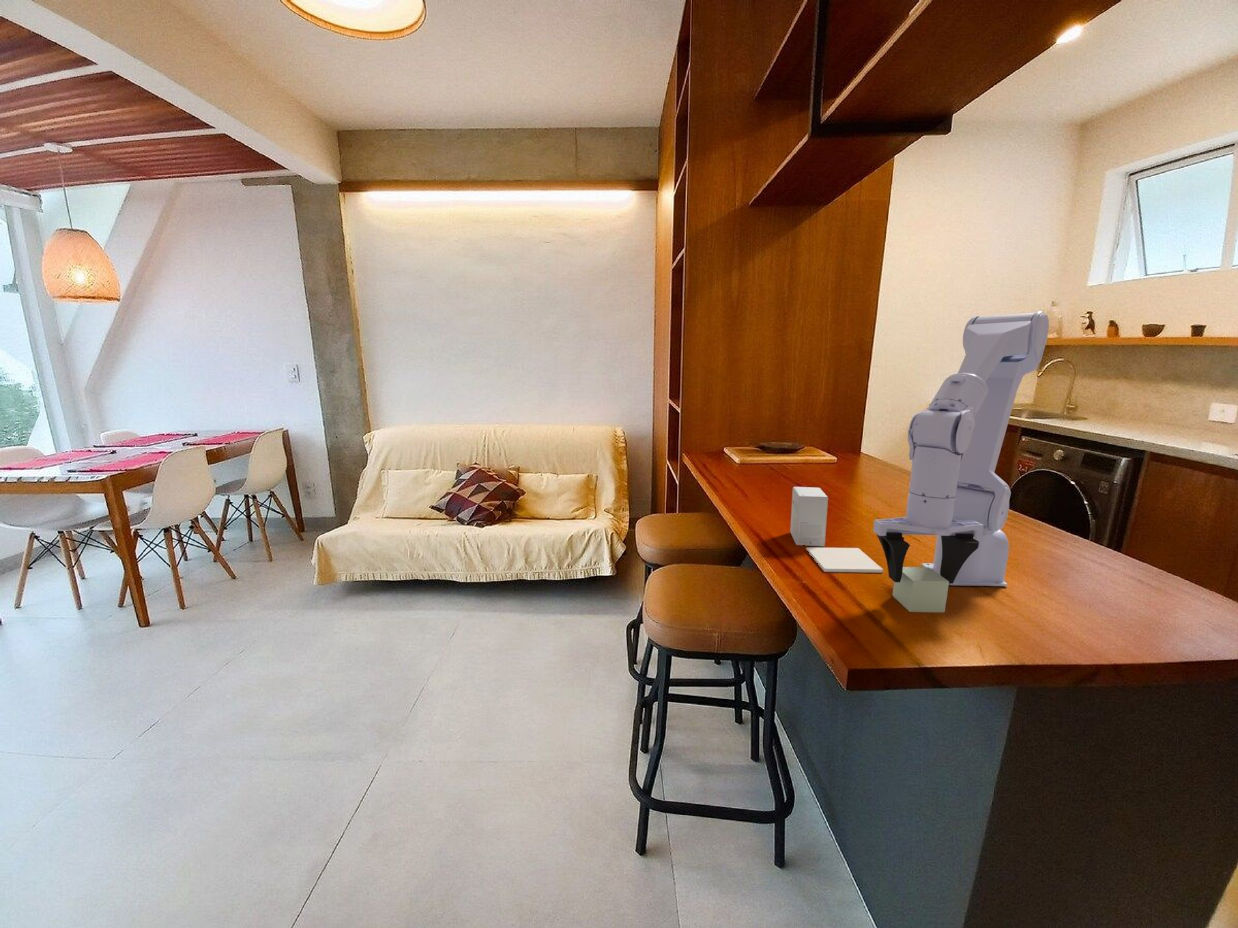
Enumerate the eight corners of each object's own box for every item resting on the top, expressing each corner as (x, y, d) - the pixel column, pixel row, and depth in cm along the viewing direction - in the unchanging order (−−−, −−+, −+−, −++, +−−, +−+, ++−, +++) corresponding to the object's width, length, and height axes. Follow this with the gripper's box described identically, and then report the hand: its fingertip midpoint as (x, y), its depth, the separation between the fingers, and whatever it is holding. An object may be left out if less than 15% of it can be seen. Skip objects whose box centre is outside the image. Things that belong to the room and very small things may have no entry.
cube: (925, 596, 74) (929, 567, 73) (944, 612, 70) (949, 581, 69) (892, 596, 75) (895, 566, 74) (909, 612, 70) (913, 580, 69)
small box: (824, 547, 95) (829, 497, 92) (795, 545, 96) (798, 495, 94) (816, 533, 102) (820, 487, 100) (789, 532, 103) (792, 486, 101)
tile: (858, 550, 93) (858, 547, 93) (882, 572, 83) (883, 569, 83) (806, 550, 93) (806, 547, 93) (824, 571, 84) (824, 568, 83)
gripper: (894, 500, 65) (883, 591, 68) (1004, 501, 64) (989, 593, 67) (870, 487, 72) (862, 570, 75) (969, 488, 71) (957, 572, 74)
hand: (920, 580), depth 71 cm, fingers open, 7 cm apart
